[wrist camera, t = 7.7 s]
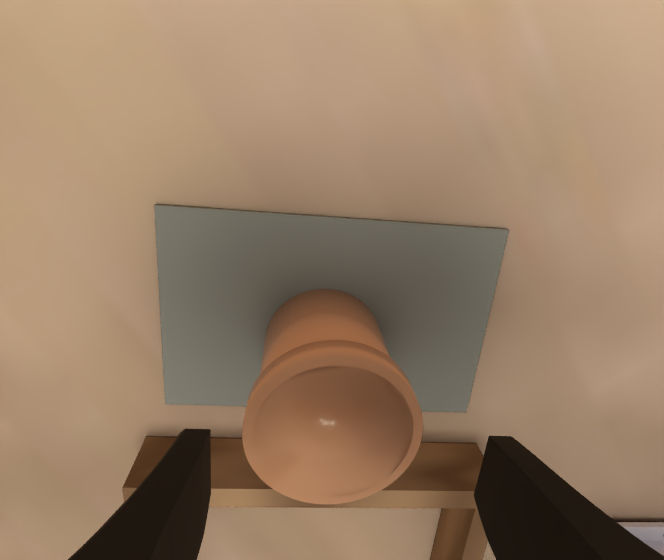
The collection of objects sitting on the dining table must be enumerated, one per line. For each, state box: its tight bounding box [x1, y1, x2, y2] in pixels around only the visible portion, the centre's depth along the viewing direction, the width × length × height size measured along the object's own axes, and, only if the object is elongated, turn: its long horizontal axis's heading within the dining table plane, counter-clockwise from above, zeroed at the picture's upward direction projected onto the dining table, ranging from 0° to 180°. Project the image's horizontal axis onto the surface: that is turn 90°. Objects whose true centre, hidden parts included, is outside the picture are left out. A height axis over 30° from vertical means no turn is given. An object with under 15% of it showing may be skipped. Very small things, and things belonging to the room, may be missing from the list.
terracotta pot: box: [242, 289, 423, 504], centre depth 17 cm, size 6×6×6 cm
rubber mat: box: [154, 204, 509, 413], centre depth 19 cm, size 14×9×1 cm, turn 85°
